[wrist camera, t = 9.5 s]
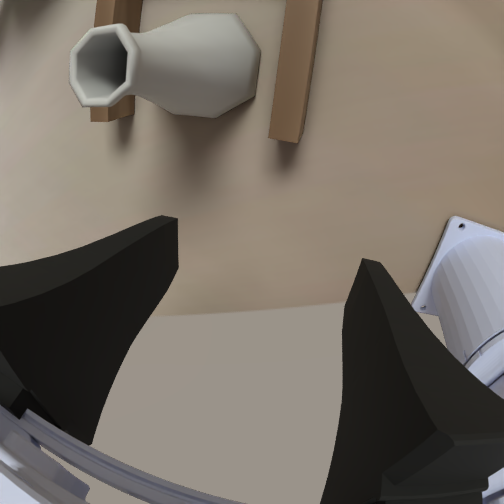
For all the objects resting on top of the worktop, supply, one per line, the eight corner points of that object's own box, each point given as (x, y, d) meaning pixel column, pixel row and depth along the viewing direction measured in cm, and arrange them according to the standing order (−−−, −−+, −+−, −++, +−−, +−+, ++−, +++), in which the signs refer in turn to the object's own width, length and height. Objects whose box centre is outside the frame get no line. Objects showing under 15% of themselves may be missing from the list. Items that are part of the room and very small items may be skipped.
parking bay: (329, -59, 11) (327, -79, 8) (302, 133, 18) (297, 143, 15) (133, -50, 12) (108, -59, 10) (117, 113, 19) (90, 121, 17)
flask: (249, -2, 14) (170, -61, 6) (273, 107, 17) (215, 138, 9) (144, 32, 16) (26, 29, 8) (167, 129, 19) (60, 179, 11)
